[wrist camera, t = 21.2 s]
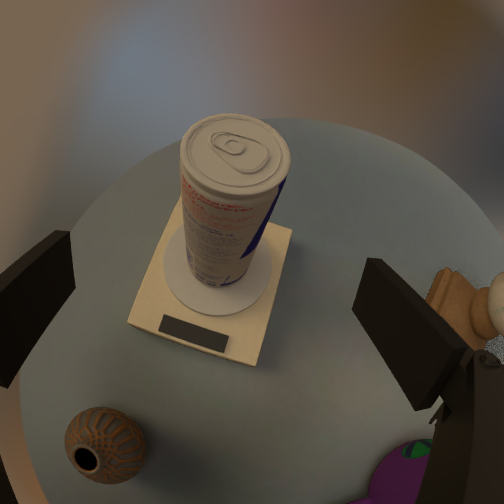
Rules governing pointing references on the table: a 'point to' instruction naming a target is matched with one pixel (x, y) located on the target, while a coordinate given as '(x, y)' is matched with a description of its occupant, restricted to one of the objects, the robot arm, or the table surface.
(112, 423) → the vase
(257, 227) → the beverage can
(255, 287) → the kitchen scale
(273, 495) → the table surface
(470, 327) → the candle holder
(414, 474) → the mug
